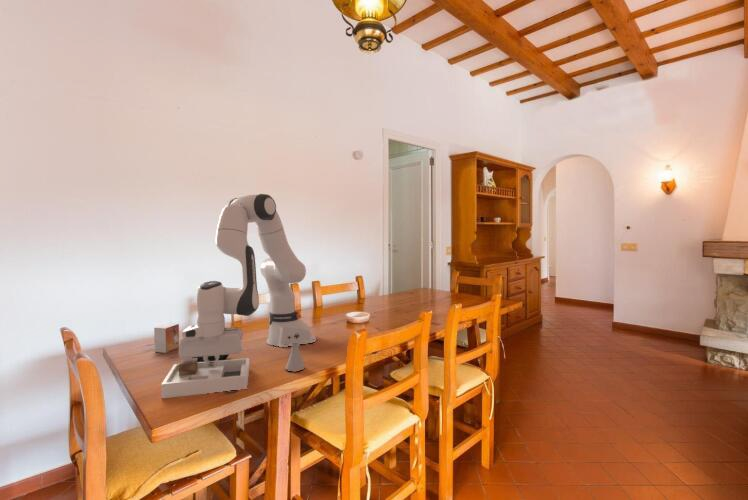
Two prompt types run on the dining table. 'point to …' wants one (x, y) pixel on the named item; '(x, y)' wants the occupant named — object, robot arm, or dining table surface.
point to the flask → (295, 358)
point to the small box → (166, 337)
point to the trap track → (207, 379)
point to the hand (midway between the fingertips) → (211, 367)
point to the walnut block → (188, 366)
